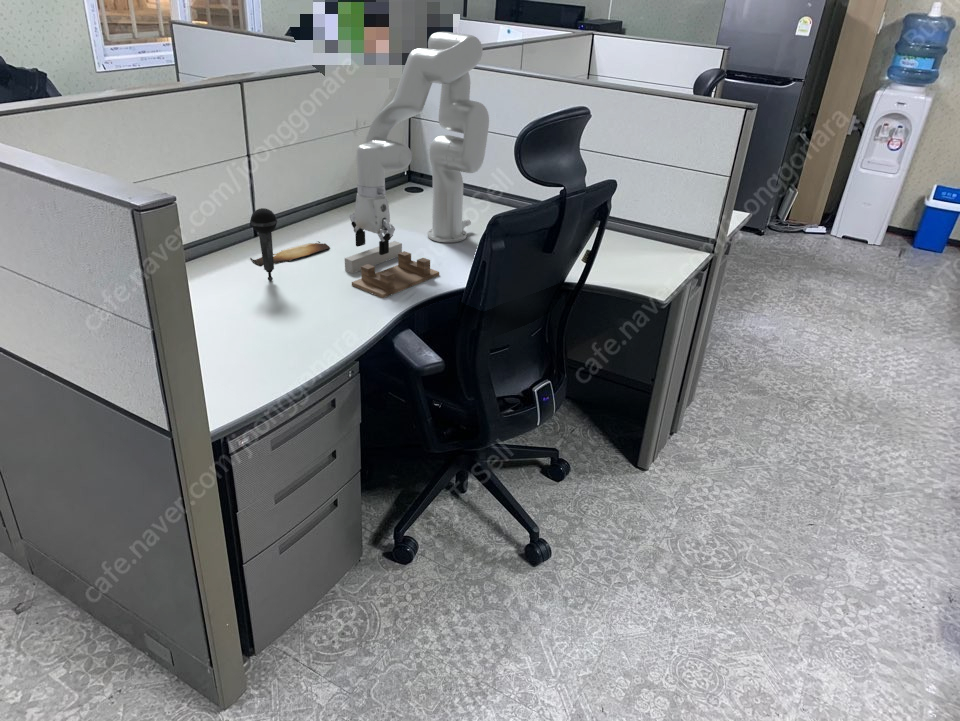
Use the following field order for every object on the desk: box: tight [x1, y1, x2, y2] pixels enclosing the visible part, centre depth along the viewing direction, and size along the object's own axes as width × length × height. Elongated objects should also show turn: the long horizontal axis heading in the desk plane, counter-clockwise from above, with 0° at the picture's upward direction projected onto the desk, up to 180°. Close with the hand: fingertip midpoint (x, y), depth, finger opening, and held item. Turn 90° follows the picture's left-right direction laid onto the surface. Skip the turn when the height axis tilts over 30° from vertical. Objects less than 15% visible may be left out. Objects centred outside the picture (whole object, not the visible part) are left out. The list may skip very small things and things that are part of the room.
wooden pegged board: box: [351, 250, 440, 299], centre depth 197 cm, size 22×12×5 cm, turn 141°
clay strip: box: [344, 240, 403, 274], centre depth 209 cm, size 20×3×4 cm, turn 142°
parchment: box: [249, 240, 331, 267], centre depth 213 cm, size 25×10×1 cm, turn 135°
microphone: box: [249, 208, 278, 282], centre depth 190 cm, size 7×7×20 cm
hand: (372, 249), depth 207 cm, fingers open, 9 cm apart
